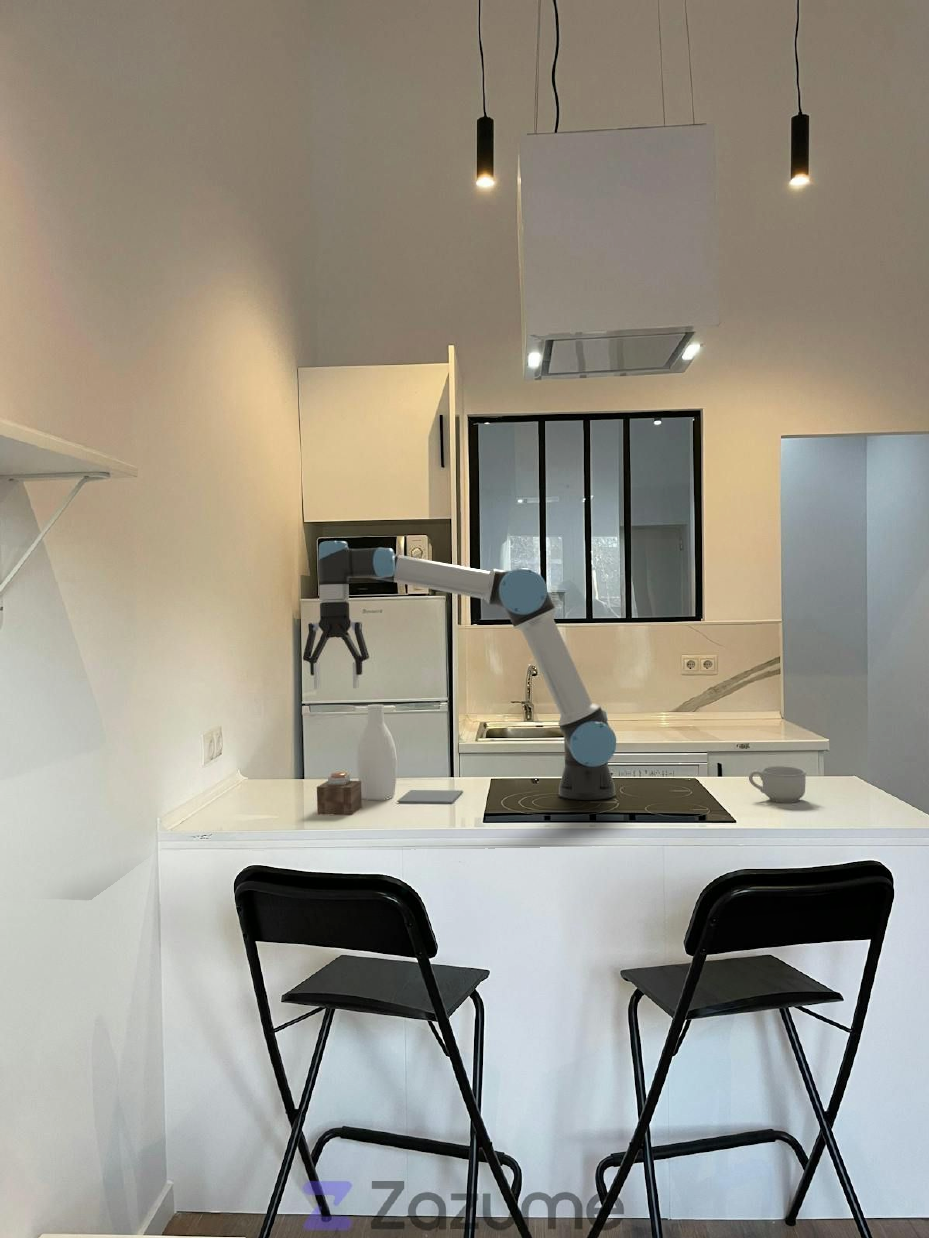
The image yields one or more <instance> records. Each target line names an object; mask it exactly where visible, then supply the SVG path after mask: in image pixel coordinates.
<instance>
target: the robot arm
mask: <svg viewBox="0 0 929 1238" xmlns="http://www.w3.org/2000/svg"><path fill="white" fill-rule="evenodd" d="M318 545H319V546H318V558H317V561H318V582H319V583H318V584H319V585H318V586H319V588H318V589H319V590H318V591H319V600H320V601H321V602H320V604H319V621H318V622H309V623H308V625H307V626H308V627H307V628H308V635H307V639H306V642H305V648H304V652H303V656H302V660H303V661H305V662H308V663H309V664H310V665H309V669H310V671H309V672H310V675H311V676H313V684H314V685H313V686H314V687H313V688H314V689H321V687H322V686H321V662H318V660H319V658H320V656H321V654H322V652H323V650H324V648H325V646H326V644H327V642H328V641H329V639H331V638H332V639H333V638H341V639H342V641H344V644H345V645H346V647H347V649H348V651H349V652H350V654H351V656H352V657H353V660H354V662H352V688H353V689H358V688H360V675H362V674H363V662H364V661H367V660H368V659H370V655H369V652H368V648H367V645H366V642H365V641H366V640H365V638H364V635H363V630H362V629H363V624H362V623H363V622H361V621H356V622H355V621H351V619H350V603H349V601H348V600H349V599H350V591H349V587H350V586H349V579H351V578H352V579H355V578H364V579H365V578H369V579H372V580H373V579H374V580H378V581H379V580H380V581H381V580H382V581H387V582H393V583H397V584H403V585H408V586H412V587H413V586H414V587H419V588H425V589H430V590H435V591H440V592H446V593H450V594H454V595H455V594H456V595H461V596H465V597H466V596H467V597H471V598H476V599H482V600H484V601H485V602H486V603H487V604H488V605H494V606H498V607H500V608H501V607H502V608H504V609H505V610H506V613H507V615H508V618H509V620H510V622H511V624H512V626H513V628H514V629H517V630H519V631H521V632H522V634H523V636H524V638H525V640H526V642H527V645H528V647H529V649H530V651H531V653H532V655H533V658H534V660H535V662H536V665H537V667H538V669H539V671H540V674H541V676H542V677H543V680H544V682H545V684H546V686H547V688H548V690H549V693H550V695H551V697H552V700H553V702H554V704H555V706H556V708H557V710H558V712H559V714H560V717H559V720H558V726H559V728H560V730H561V733H562V736H563V739H564V741H563V743H564V744H563V745H564V746H563V747H564V769H563V772H562V775H561V778H560V782H559V786H558V795H559V797H561V798H564V799H570V800H575V801H576V800H578V801H593V800H594V801H597V800H604V799H610V798H613V797H614V796H616V786H615V785H616V784H615V782H614V780H613V777H612V774H611V771H610V768H609V761H610V760H611V759H612V757H613V756H614V755H615V753H616V749H617V737H616V734H615V732H614V730H613V729H612V727H610V724H609V723H608V720H609V719H608V716H607V712H606V710H604V709H602V708H601V706H600V705H599V704H597V703H594V702H592V700H591V698H590V695H589V693H588V691H587V689H586V687H585V684H584V682H583V680H582V678H581V676H580V674H579V672H578V670H577V667H576V665H575V663H574V660H573V659H572V656H571V654H570V653H569V650H568V648H567V644H566V642H565V641H564V638H563V636H562V634H561V633H560V630H559V628H558V625H557V624H556V622H555V620H554V613H555V610H556V607H555V604H554V603H553V601H552V598H551V596H550V595H549V592H548V589H547V584H546V581H545V579H544V578H543V577H542V575H541V574H540V573H539V572H538V571H536V570H535V569H533V568H530V567H523V566H522V567H515V568H513V569H511V570H504V569H500V568H499V569H498V568H493V569H491V570H488V571H487V570H483V569H477V568H471V567H467V566H461V565H456V564H450V563H444V562H440V561H433V560H428V559H423V558H418V557H412V556H406V555H402V554H396V553H395V551H394V549H393V548H390V547H372V548H349V545H348V542H347V541H343V540H329V541H328V540H325V541H323V542H320V543H319V544H318ZM319 628H320V630H321V631H322V633H321V635H320V637H319V641H318V642H317V644H316V646H315V649H314V643H315V640H316V635H317V631H318V630H319ZM350 628H351V629H352V630H353V632H354V635H355V639H356V641H357V642H356V643H357V645H358V649H359V651H358V649H357V647H356V644H354V642H353V640H352V638H351V635H350V633H349V630H350ZM313 649H314V651H313Z"/></svg>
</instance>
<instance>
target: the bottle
mask: <svg viewBox="0 0 929 1238" xmlns="http://www.w3.org/2000/svg"><path fill="white" fill-rule="evenodd" d="M366 707H367V723H366V725H365V727H364V729H363V731H362V733H361V735H360V737H359V740H358V745H357V750H356V752H357V753H356V766H357V767H356V769H357V770H356V771H357V781H361V794H362V799H363V800H367V801H385V800H384V799H386V800H388V799H387V798H390V797H392V798H394V796H395V794H396V784H397V777H398V775H397V773H398V755H397V749H396V744H395V741H394V739H393V736H392V733H391V732H390V730H389V728H388V727H387V725H386V723H385V717H384V704H374V703H373V704H368V705H367V704H366ZM390 799H391V798H390Z"/></svg>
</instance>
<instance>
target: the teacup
mask: <svg viewBox="0 0 929 1238" xmlns="http://www.w3.org/2000/svg"><path fill="white" fill-rule="evenodd" d="M755 775H758V776H759V777H760V780H761V781H762V785H759V784H757V783H756V782H755V780H754V779H753V777H754V776H755ZM806 775H807V770H805V769H802V768H800V767H797V766H795V767H794V766H788V765H787V766H785V765H779V766H777V765H773V766H767V767H764V768H762V770H761V771H760V770H756V769H754V770H752V771H750V773H749V774H748V780H749V783H750V785H752V786H753V787H754V788H756V789H758V790H759V792H761V794H764V795H765V796H767V798H769V800H770V801H772V802H776V803H783V804H791V803H796V802H798V801H799V800H800V799H801V798H802V797H804V795H805V792H806Z"/></svg>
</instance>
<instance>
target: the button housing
mask: <svg viewBox="0 0 929 1238" xmlns="http://www.w3.org/2000/svg"><path fill="white" fill-rule="evenodd" d="M362 799H363V798H362V794H361V781H359V780H350V783H349V784H348V785H346V786H328V780H326V781H325V782H323V783H321V784H319V785H318V786H317V787H316V805H317V806H316V808H317V811H316V812H317V815H319V816H320V814H322V815H326V814H327V816H331V814H334V815H333V816H336V815H337V816H352V815H354V814H355V813H356V812H358V811H359V810H360V809H362V808H363V800H362ZM328 814H330V815H328Z"/></svg>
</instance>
